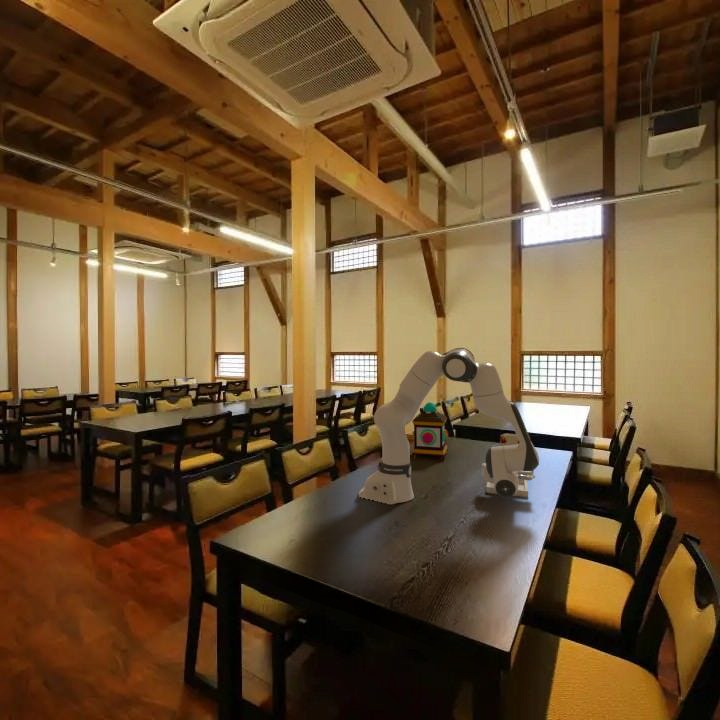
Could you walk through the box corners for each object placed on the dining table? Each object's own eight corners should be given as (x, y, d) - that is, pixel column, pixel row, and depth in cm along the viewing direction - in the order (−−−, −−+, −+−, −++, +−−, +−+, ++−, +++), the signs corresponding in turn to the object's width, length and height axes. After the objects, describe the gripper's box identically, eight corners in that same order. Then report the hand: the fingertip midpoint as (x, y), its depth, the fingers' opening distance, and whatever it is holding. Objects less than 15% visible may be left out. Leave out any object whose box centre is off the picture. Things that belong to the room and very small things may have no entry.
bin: (486, 492, 168) (486, 486, 168) (488, 480, 183) (488, 475, 183) (528, 497, 162) (528, 491, 162) (527, 484, 177) (527, 478, 177)
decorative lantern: (415, 450, 237) (415, 399, 236) (450, 452, 231) (450, 400, 230) (409, 459, 218) (408, 404, 217) (446, 462, 212) (446, 405, 211)
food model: (498, 476, 188) (498, 433, 187) (500, 472, 194) (500, 431, 193) (521, 479, 184) (521, 435, 183) (522, 475, 190) (522, 432, 189)
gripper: (535, 470, 156) (533, 460, 169) (480, 465, 164) (482, 456, 176) (535, 486, 156) (533, 475, 169) (480, 480, 164) (482, 470, 177)
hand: (507, 465), depth 173 cm, fingers closed on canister, 5 cm apart
